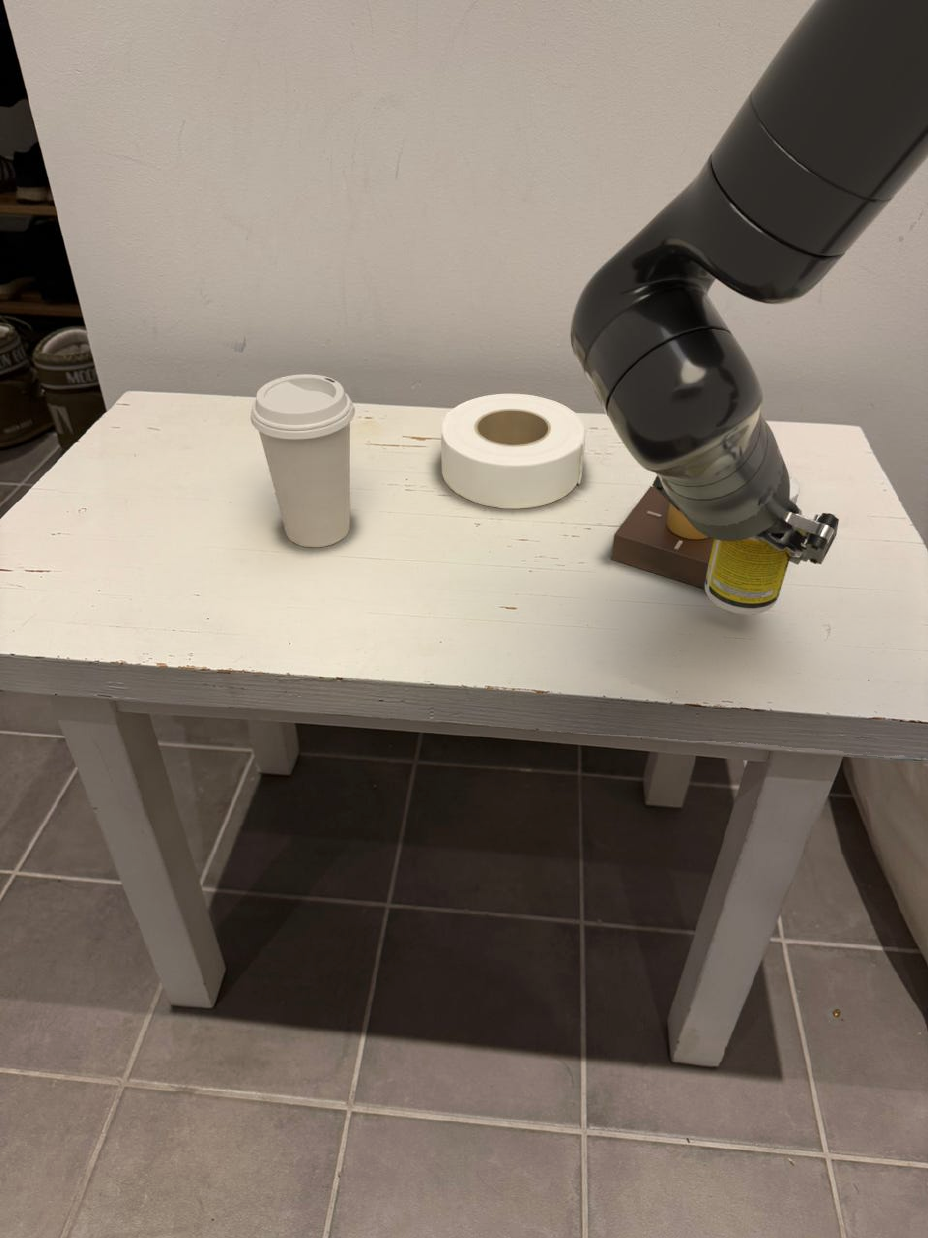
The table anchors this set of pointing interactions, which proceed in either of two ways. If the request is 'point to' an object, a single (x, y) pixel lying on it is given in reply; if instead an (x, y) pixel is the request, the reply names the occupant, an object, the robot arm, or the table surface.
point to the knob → (682, 525)
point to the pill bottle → (747, 572)
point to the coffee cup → (308, 454)
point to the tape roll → (512, 450)
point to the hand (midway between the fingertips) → (760, 536)
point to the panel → (660, 543)
